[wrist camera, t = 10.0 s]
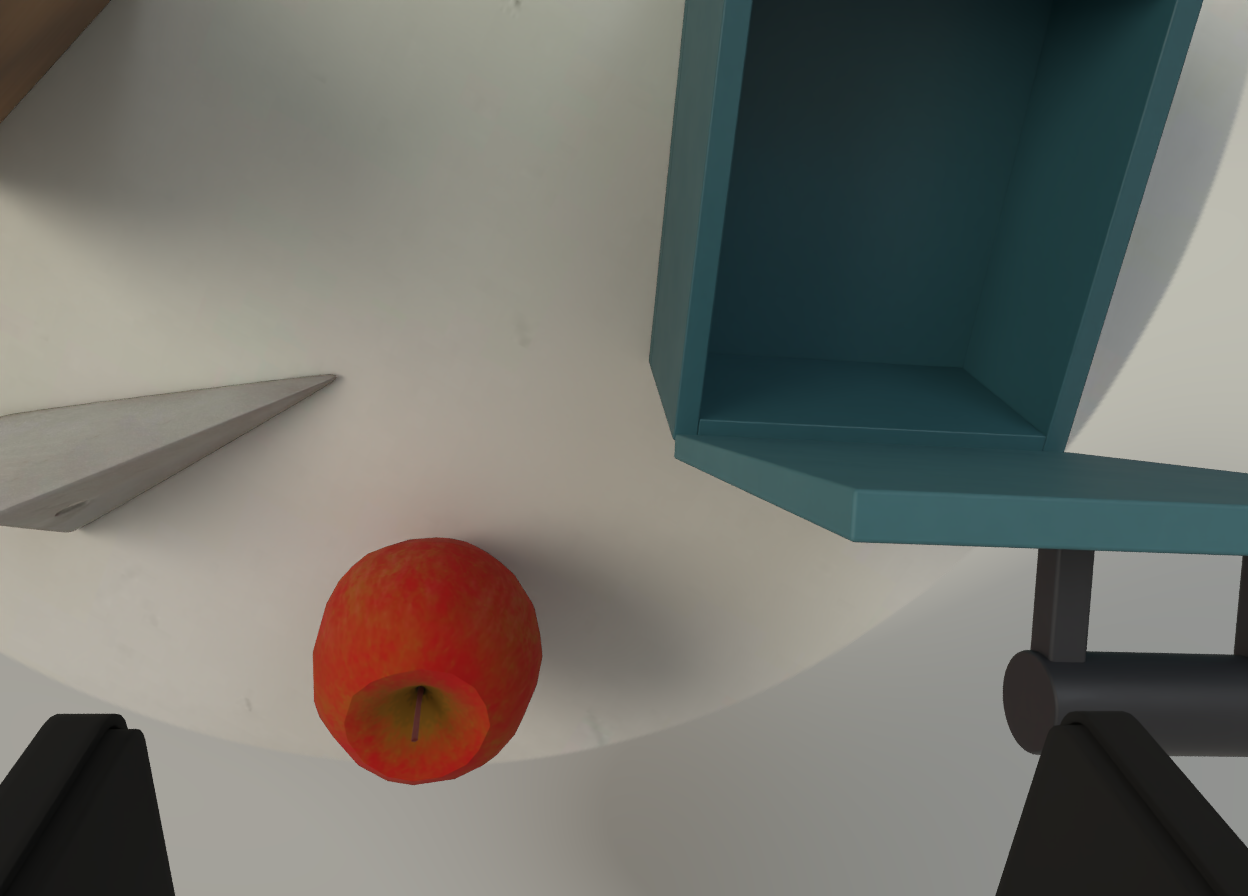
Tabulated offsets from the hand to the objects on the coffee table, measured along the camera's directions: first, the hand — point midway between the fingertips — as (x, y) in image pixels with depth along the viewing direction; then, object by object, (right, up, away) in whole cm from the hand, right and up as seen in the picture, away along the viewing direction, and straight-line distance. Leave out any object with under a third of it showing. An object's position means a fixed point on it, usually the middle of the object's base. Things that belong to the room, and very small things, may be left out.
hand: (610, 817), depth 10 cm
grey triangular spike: (-18, +6, +27) cm, 33 cm away
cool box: (+9, +14, +25) cm, 30 cm away
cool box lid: (+9, +4, +13) cm, 16 cm away
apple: (-8, -1, +31) cm, 32 cm away
